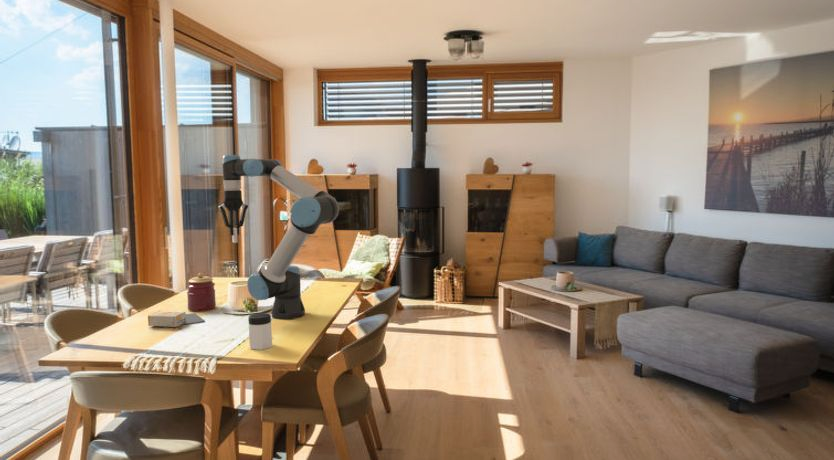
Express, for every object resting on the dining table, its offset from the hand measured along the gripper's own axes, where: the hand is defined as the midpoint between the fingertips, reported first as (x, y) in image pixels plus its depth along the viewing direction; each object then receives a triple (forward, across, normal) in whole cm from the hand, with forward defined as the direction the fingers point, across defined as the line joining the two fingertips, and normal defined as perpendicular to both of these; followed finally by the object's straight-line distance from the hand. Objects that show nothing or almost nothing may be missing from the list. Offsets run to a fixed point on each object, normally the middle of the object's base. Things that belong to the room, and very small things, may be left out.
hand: (235, 242), depth 262 cm
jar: (+35, +7, +50) cm, 61 cm away
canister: (+35, +9, -28) cm, 45 cm away
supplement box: (+32, +34, -9) cm, 47 cm away
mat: (+34, +23, -10) cm, 43 cm away
